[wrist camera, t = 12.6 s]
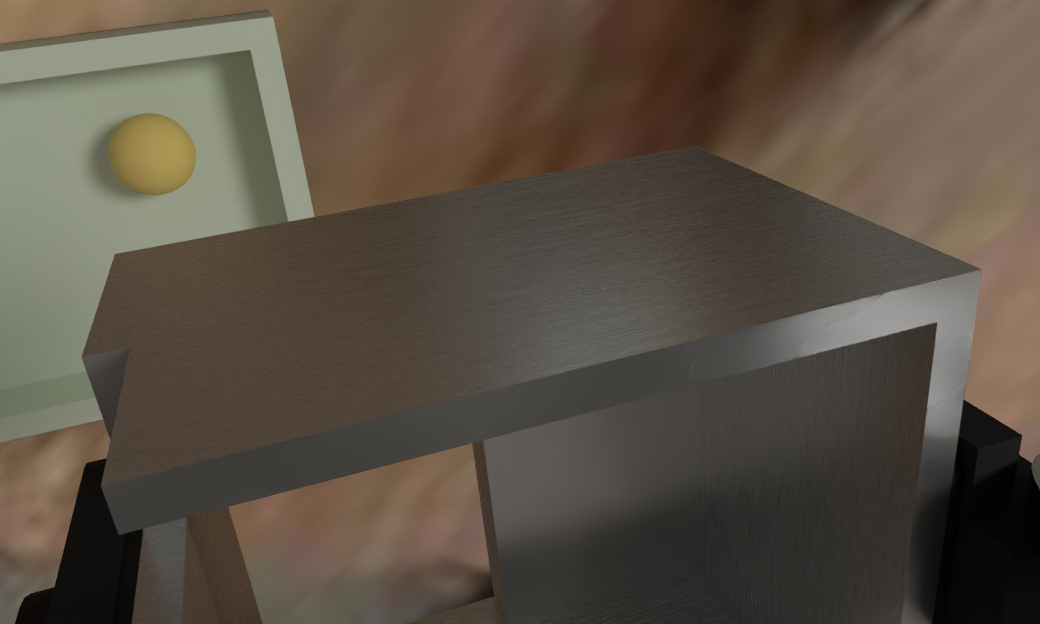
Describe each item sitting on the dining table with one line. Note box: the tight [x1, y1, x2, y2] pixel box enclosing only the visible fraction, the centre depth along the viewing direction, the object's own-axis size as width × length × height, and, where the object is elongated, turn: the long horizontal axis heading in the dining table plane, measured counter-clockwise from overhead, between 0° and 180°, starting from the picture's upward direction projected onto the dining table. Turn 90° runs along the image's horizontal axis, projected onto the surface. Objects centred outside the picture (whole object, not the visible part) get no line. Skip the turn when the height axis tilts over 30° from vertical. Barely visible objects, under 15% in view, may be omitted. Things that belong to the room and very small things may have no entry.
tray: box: [0, 10, 314, 443], centre depth 33 cm, size 14×15×4 cm
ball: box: [108, 113, 196, 195], centre depth 32 cm, size 3×3×3 cm
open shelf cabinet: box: [81, 146, 982, 624], centre depth 10 cm, size 7×7×5 cm
